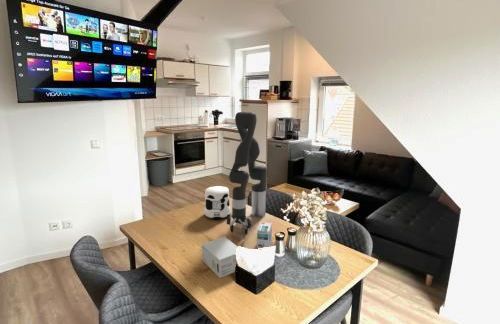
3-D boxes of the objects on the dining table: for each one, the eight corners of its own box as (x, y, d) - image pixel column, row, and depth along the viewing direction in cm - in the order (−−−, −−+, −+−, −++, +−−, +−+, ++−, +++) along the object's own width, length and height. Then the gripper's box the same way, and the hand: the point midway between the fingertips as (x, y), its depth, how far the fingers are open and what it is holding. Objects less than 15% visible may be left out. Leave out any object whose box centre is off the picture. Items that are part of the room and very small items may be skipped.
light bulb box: (269, 250, 150) (269, 231, 148) (256, 249, 152) (256, 230, 149) (272, 240, 160) (272, 222, 158) (260, 239, 162) (260, 221, 159)
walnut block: (237, 234, 167) (237, 223, 166) (245, 236, 165) (245, 224, 164) (233, 238, 163) (233, 226, 161) (241, 240, 161) (241, 228, 159)
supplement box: (201, 261, 141) (201, 243, 139) (225, 252, 148) (224, 235, 146) (219, 278, 128) (219, 259, 125) (244, 268, 135) (244, 250, 133)
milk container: (220, 208, 205) (219, 184, 201) (236, 216, 192) (235, 190, 188) (199, 215, 193) (198, 189, 189) (214, 223, 181) (213, 196, 177)
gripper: (253, 205, 160) (253, 232, 164) (230, 201, 166) (230, 228, 169) (248, 210, 153) (247, 238, 157) (224, 206, 159) (224, 233, 162)
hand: (238, 233), depth 163 cm, fingers open, 8 cm apart
